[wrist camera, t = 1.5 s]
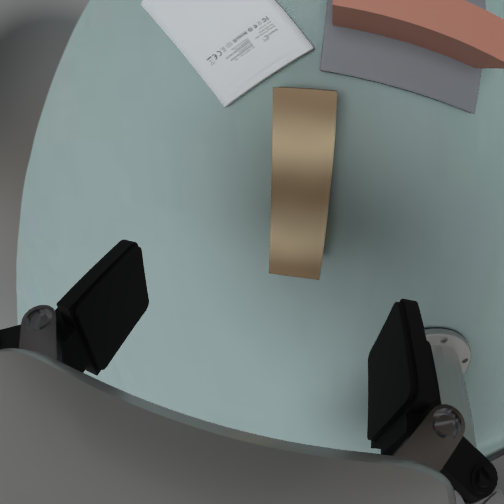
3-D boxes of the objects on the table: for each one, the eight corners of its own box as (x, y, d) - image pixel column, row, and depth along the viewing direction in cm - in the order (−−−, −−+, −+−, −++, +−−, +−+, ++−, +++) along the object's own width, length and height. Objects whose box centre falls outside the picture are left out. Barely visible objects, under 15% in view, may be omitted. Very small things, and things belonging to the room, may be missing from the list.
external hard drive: (221, -52, 15) (315, 50, 19) (148, 6, 19) (229, 106, 23) (215, -59, 14) (314, 47, 18) (138, 3, 18) (222, 108, 21)
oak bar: (321, 253, 27) (319, 279, 24) (277, 248, 28) (269, 273, 25) (336, 90, 20) (337, 91, 17) (282, 86, 21) (273, 87, 17)
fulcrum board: (469, 112, 17) (513, 127, 11) (320, 70, 19) (315, 64, 13) (480, 2, 12) (522, -14, 6) (331, -43, 14) (329, -83, 8)
